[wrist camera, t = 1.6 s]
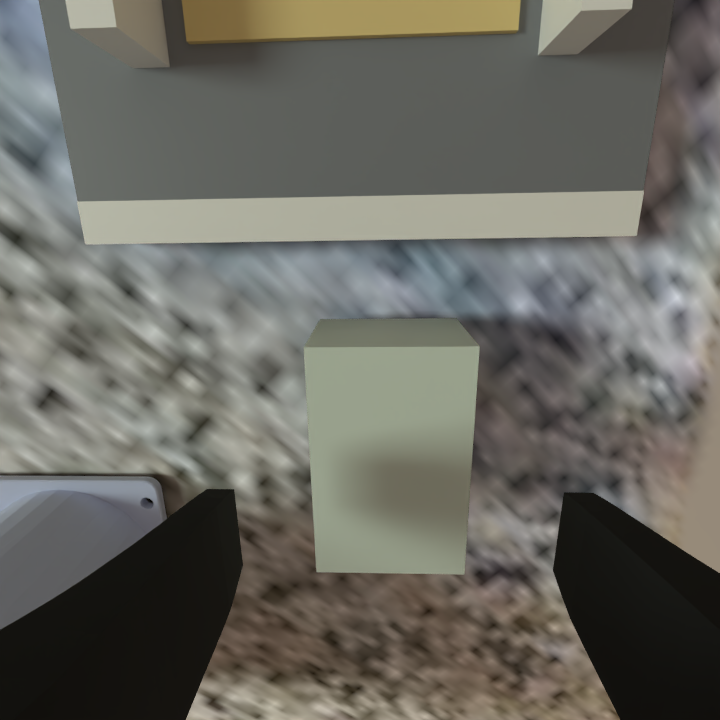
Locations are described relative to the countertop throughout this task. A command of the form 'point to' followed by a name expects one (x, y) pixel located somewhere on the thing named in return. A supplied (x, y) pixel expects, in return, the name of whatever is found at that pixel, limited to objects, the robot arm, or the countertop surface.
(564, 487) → the countertop surface
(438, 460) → the upright pale green block
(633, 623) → the robot arm
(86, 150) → the dock
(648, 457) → the countertop surface
